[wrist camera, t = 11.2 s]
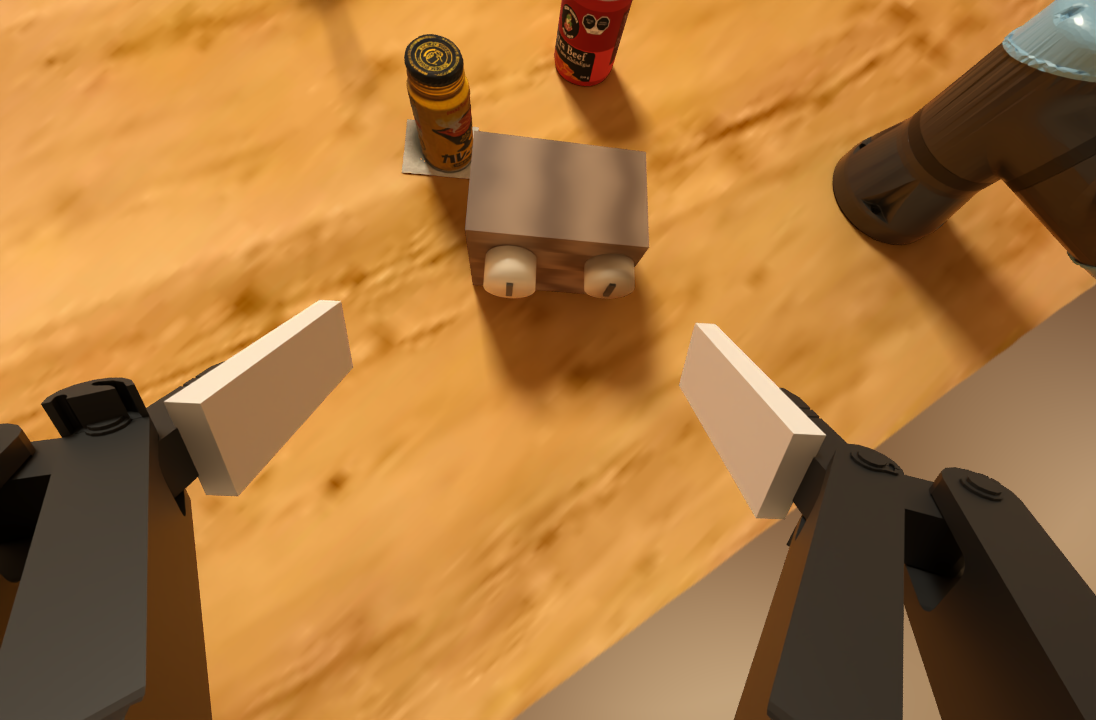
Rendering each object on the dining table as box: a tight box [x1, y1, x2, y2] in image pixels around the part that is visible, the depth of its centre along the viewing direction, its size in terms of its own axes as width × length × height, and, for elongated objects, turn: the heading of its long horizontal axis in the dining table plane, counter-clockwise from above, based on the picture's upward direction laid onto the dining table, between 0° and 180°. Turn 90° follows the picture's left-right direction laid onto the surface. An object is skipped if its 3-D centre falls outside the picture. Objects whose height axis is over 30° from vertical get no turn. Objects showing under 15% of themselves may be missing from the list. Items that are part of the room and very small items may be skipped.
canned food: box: [554, 0, 632, 86], centre depth 48 cm, size 8×8×11 cm
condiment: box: [402, 34, 479, 179], centre depth 41 cm, size 7×8×12 cm
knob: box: [483, 245, 537, 298], centre depth 38 cm, size 5×15×5 cm, turn 178°
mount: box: [465, 131, 649, 299], centre depth 40 cm, size 16×13×11 cm
